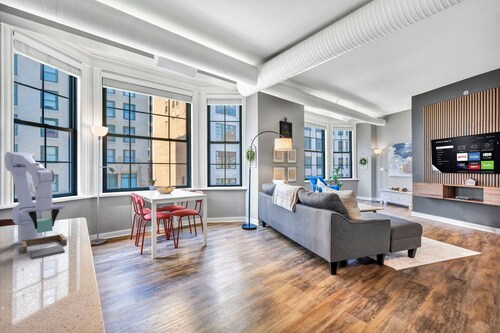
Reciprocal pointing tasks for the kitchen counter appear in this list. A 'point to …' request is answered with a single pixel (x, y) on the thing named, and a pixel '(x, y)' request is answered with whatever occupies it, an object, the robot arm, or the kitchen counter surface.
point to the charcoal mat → (47, 251)
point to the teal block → (44, 225)
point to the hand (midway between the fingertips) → (44, 227)
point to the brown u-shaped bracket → (43, 241)
